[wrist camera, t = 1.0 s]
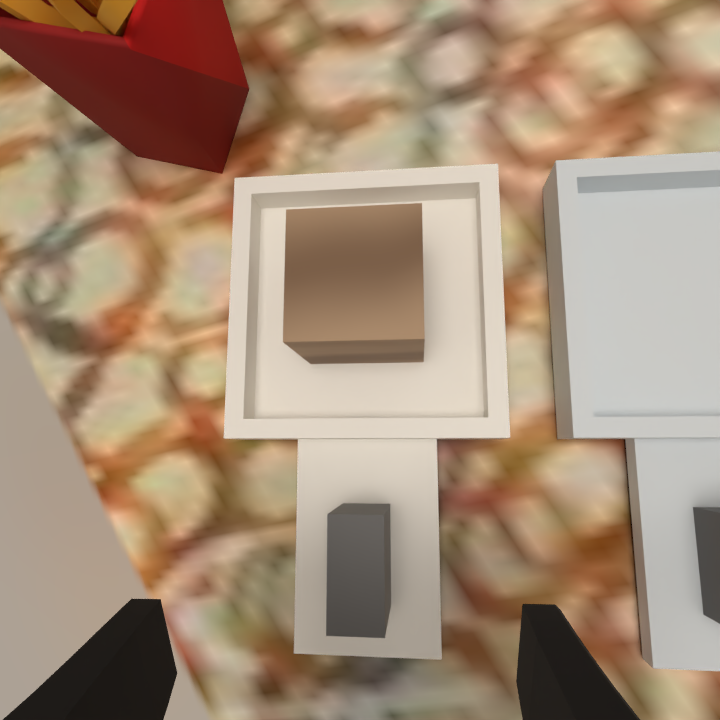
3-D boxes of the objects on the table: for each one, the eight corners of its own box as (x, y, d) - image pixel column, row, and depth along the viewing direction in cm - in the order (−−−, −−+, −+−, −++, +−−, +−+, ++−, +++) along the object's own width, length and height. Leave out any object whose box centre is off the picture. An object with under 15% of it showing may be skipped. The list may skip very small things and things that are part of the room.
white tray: (509, 653, 22) (535, 710, 17) (235, 642, 23) (187, 692, 18) (490, 191, 26) (507, 129, 21) (251, 203, 27) (214, 147, 22)
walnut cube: (423, 362, 24) (424, 338, 19) (310, 364, 24) (282, 341, 19) (421, 252, 24) (421, 202, 19) (312, 256, 25) (285, 209, 20)
